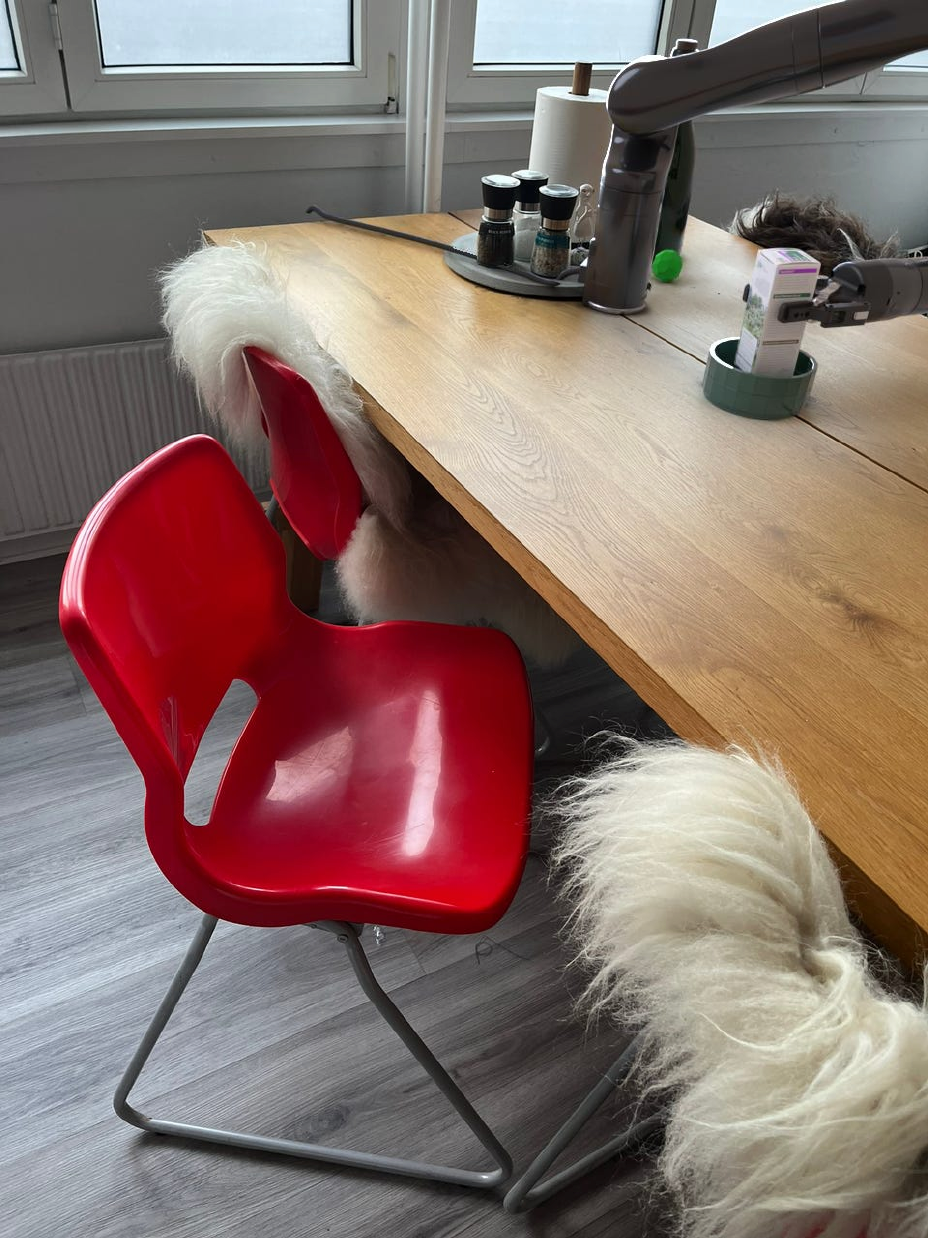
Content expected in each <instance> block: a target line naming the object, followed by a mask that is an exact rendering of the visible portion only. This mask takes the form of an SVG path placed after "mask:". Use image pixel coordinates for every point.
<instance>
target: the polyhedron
mask: <svg viewBox="0 0 928 1238" xmlns="http://www.w3.org/2000/svg"><path fill="white" fill-rule="evenodd" d="M683 266H684V262H683V257H682V256H681V254H680V255H679V254H678V253H676V252H675V251H673V250H664V251H662V252H660V253H659V254H657V255H656V257H655V260H654V261H653V262H652V267H651V271H652V274H653V276H654V277H656V278H657V279H658V280H659V281H660V282H663V283H670V282H673V281H675V280H676V279H678V278H679V277H680V274H681V272H682V270H683Z"/></svg>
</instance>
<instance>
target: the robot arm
mask: <svg viewBox="0 0 928 1238" xmlns="http://www.w3.org/2000/svg"><path fill="white" fill-rule="evenodd" d="M698 51H699V52H695V53H690V54H686V55H681V56H676V57H671V56H670V57H664V56H661V55H654V54H653V55H646V56H641V57H640V58H638V59H635V60H634V61H633V62H630V63H629V64H627V65H626V66H624V67H623V68H622V69H621V70H620V72H618V74H617V75H616V77H614V79H613V81H612V82H611V85H610V87H609V89H608V93H607V98H606V112H607V114H608V117H609V120H610V121H611V123H612V130H611V137H610V142H609V146H608V150H607V154H606V157H605V159H604V161H603V164H602V172H601V178H600V179H601V180H600V188H599V195H598V204H597V210H596V217H595V225H594V233H593V237H592V239H590V241H589V246H588V252H587V257H586V258H585V259H584V260H583V261H582V262H581V264H580V265H579V266H578V267H573V268H567V269H565V270H563V271H561V272H560V274H559V275H558V276H557V278H556V279H558V280H563V281H564V280H565V278H567V277H569V276H573V275H578V276H577V283H578V284H579V283H580V284H583V291H582V298H581V305H582V306H587V307H589V308H592V309H594V310H597V311H598V312H603V313H608V314H615V315H631V314H637V313H639V312H642V311H644V310H645V309H646V304H647V300H646V299H647V298H648V297H647V296H648V291H649V292H651V291H652V283H651V282H650V277H651V272H652V266H653V262H654V261H653V255H654V249H655V243H656V238H657V232H658V226H659V220H660V214H661V209H662V203H663V197H664V191H665V185H666V180H667V176H668V172H669V168H670V165H671V162H672V157H673V152H674V147H675V141H676V136H677V131H678V126H679V124H680V123H682V122H685V121H688V120H691V119H693V120H694V119H696V118H699V117H701V116H704V115H708V114H711V113H714V112H715V113H716V112H718V111H722V110H723V111H724V110H727V109H734V108H741V107H746V106H747V107H748V106H753V105H759V104H763V103H770V102H775V101H778V100H783V99H787V98H793V97H797V96H801V95H805V94H808V93H812V92H817V91H819V90H824V89H827V88H831V87H833V86H836V85H840V84H842V83H845V82H848V81H851V80H854V79H856V78H858V77H861V76H863V75H866V74H868V73H871V72H873V71H876V70H878V69H880V68H882V67H884V66H886V65H888V64H890V63H893V62H895V61H897V60H900V59H902V58H905V57H908V56H911V55H914V54H918V53H921V52H925V51H928V0H836V1H835V0H834V1H831V2H827V3H823V4H820V5H817V6H813V7H809V8H807V9H806V8H805V9H803V10H800V11H796V12H793V13H790V14H786V15H784V16H781V17H779V18H776V19H773V20H770V21H768V22H766V23H763V24H761V25H758V26H756V27H754V28H751V29H749V30H747V31H745V32H743V33H740V34H739V35H737V36H735V37H732V38H730V39H728V40H725V41H723V42H722V43H719V44H717V45H714V46H712V47H710V48H706V49H703V50H698ZM313 212H315V213H316V214H317V215H318V216H320V217H321V218H322V219H324V220H327V221H331V222H334V223H338V224H343V225H347V226H350V227H355V228H359V229H364V230H368V231H372V232H375V233H380V234H382V235H383V234H384V235H388V236H391V237H395V238H399V239H402V240H403V239H404V240H406V241H407V240H408V241H411V242H415V243H419V244H422V245H426V246H429V247H433V248H436V249H440V250H444V251H447V252H450V253H453V254H457V255H460V256H462V257H466V258H469V259H472V260H474V261H478V260H477V256H476V255H473V254H470V253H467V252H463V251H460V250H457V249H454V248H453V247H455V248H456V247H457V246H454V245H451V244H447V243H444V242H441V241H436V240H433V239H429V238H426V237H421V236H417V235H414V234H411V233H406V232H402V231H398V230H394V229H390V228H386V227H382V226H378V225H374V224H369V223H365V222H361V221H357V220H353V219H349V218H344V217H340V216H337V215H332V214H330V213H326V212H324V211H323V210H322V209H321V208H320V207H318V206H317V205H310V206H308V208H306V210H305V214H312V213H313ZM491 266H493V267H495V268H498V269H500V270H503V271H505V272H509V273H512V274H515V275H517V276H520V277H523V278H525V279H527V280H529V281H531V282H535V283H537V284H541V285H544V286H548V287H557V286H560V285H561V284H562V283H558V282H555V281H554V280H555V279H545V278H543V277H540V276H537V275H535V274H534V273H531V272H529V271H527V272H528V273H526V272H522V271H518V270H515V269H512V268H509V267H507V266H504V265H497V266H494V265H491ZM750 286H751V282H749V283H746V285H745V286H744V289H743V293H742V298H741V299H742V302H744V303H746V304H747V300H748V295H749V290H750ZM810 303H811V304H810ZM924 314H928V256H917V257H916V256H915V257H906V258H895V257H884V258H875V259H864V260H863V259H862V260H854V261H844V262H842V263H839V264H838V265H837V266H835V267H833V269H832V270H831V271H830V272H829V273H828V274H827V275H821V274H820V275H819V274H818V278H817V282H816V286H815V290H814V294H813V298H812V300H811V302H809V301H807V300H805V301H796V302H787V303H783V304H782V305H781V306H780V310H779V314H778V318H777V319H778V321H779V322H781V323H791V322H799V321H807V322H806V323H809V324H817V323H818V322H820V324H819V327H821V328H823V329H833V328H834V329H835V328H845V327H860V326H865V325H866V324H870V323H879V322H885V321H890V320H894V319H898V318H901V317H909V316H918V315H924Z"/></svg>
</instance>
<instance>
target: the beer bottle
mask: <svg viewBox="0 0 928 1238" xmlns="http://www.w3.org/2000/svg"><path fill="white" fill-rule="evenodd" d="M698 44H699V42H698V41H697V40H695V39H691V38H679V39H677V40H676V42H675V47H673V48H672V51H671V53H670V58H671V57H676V56H681V55H686V54H690V53H695V52H699V51H700V50H699V49H697V48H698ZM694 126H695V125H694V118H693V119H691V120H688V121H685V122H682V123H680V124H679V126H678V131H677V136H676V141H675V147H674V152H673V157H672V162H671V165H670V168H669V172H668V176H667V180H666V185H665V191H664V197H663V203H662V209H661V214H660V220H659V226H658V232H657V238H656V243H655V249H654V255H653V261H652V262H654V260H655V257H656V255H657V254H659V253H660V252H662V251H664V250H673V251H675V252H676V253H678V254H679V255H680V256H681V254H682V251H683V246H684V240H685V234H686V230H687V223H688V218H689V212H690V206H691V199H692V194H693V188H694V184H695V183H694V182H695V173H696V168H697V159H698V158H697V157H698V156H697V152H698V151H697V149H698V147H697V140H696V133H695V127H694Z"/></svg>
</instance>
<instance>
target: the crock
mask: <svg viewBox="0 0 928 1238" xmlns="http://www.w3.org/2000/svg"><path fill="white" fill-rule="evenodd" d="M739 337H740V336H737V337H728V338H724V339H721V340H717V341H715V342H714V343H712V344H711V345H710V348H709V350H708V354H707V360H706V364H705V369H704V373H703V377H702V382H701V387H702V391H703V395H704V397H705V399H706V400H707V401H708V402H709V403H711V404H712V405H713V406H715V407H717V408H719V409H721V410H723V411H725V412H727V413H731V414H733V415H736V416H739V417H745V418H749V419H755V420H756V419H757V420H772V421H773V420H775V421H776V420H784V419H789V418H793V417H795V416H797V415H798V414H800V413H801V412H802V411H803V409H804V408H805V407H806V406H807V405H808V402H809V399H810V395H811V392H812V388H813V385H814V382H815V378H816V375H817V372H818V367H819V364H818V362H817V360H816V359H815V357H813V356H812V355H811V354H810V353H808V352H807V351H805V350H803V349H802V348H800V349H799V353H798V357H797V361H796V365H795V369H794V373H793V376H790V377H773V376H765V375H758V374H753V373H749V372H745V371H742V370H740V369H739V368H738V367H737V366H736V365H735V364H734V361H735V356H736V352H737V347H738V342H739Z"/></svg>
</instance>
